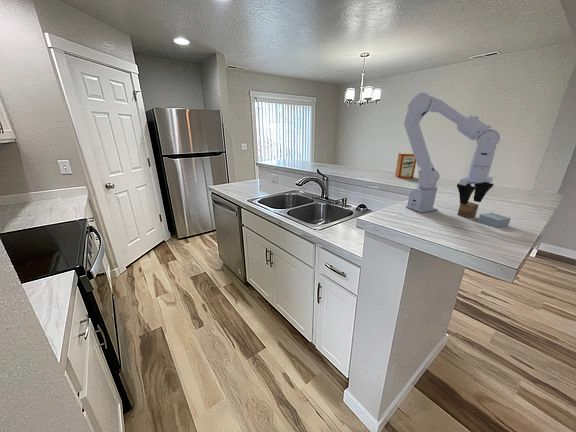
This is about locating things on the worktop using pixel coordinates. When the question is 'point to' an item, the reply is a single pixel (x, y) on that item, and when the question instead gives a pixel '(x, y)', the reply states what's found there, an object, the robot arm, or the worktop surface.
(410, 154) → the baking soda box
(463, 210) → the walnut block
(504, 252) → the worktop surface
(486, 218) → the slate slab
